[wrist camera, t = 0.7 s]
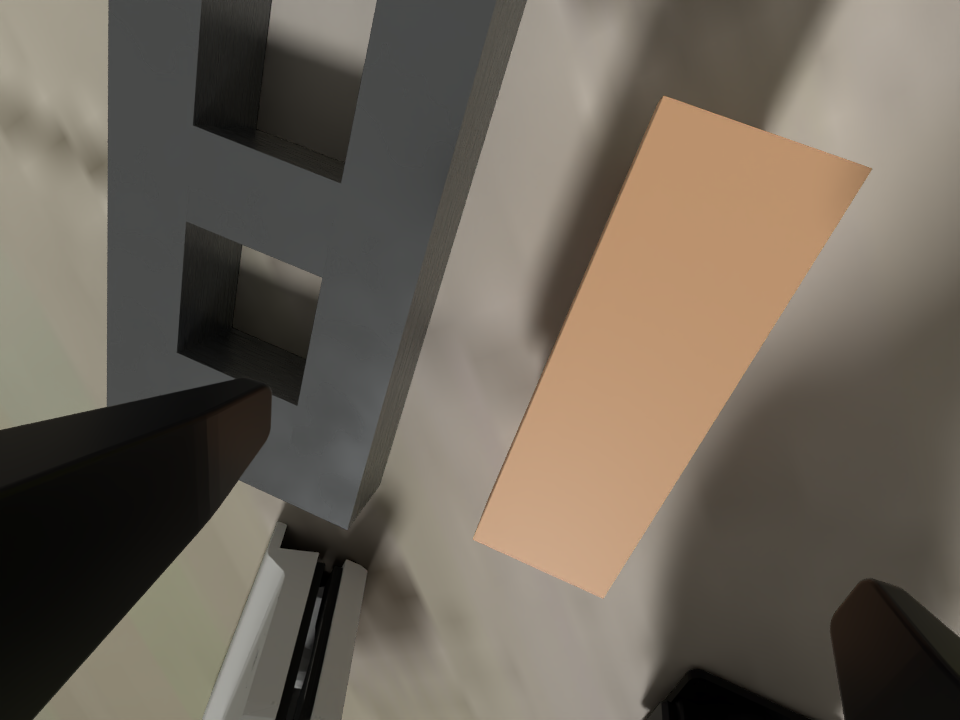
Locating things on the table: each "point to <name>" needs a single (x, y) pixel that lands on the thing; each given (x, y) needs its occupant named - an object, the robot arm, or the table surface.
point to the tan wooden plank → (660, 335)
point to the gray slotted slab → (291, 221)
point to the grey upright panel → (291, 641)
